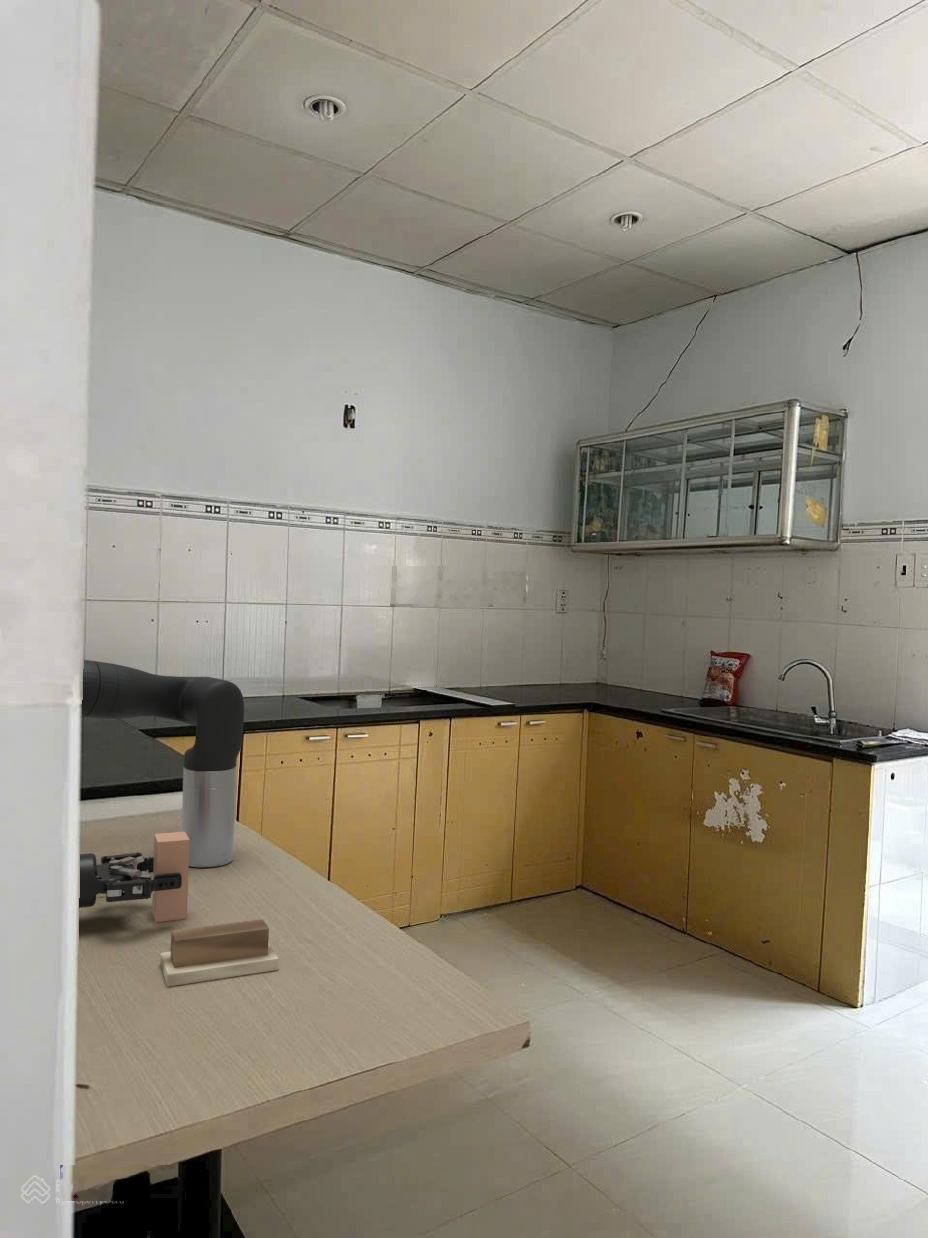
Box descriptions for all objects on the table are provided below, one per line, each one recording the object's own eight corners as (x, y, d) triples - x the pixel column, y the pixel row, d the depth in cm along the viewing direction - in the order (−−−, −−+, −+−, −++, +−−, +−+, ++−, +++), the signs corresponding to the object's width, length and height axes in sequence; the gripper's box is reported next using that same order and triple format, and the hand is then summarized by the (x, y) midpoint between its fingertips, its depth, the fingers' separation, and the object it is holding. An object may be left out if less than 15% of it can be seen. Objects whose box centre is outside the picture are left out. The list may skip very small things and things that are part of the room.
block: (151, 911, 135) (154, 834, 134) (182, 908, 137) (184, 831, 136) (155, 922, 131) (157, 842, 130) (186, 918, 133) (189, 839, 132)
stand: (160, 964, 117) (161, 926, 117) (265, 949, 123) (267, 913, 123) (167, 986, 110) (168, 947, 110) (278, 970, 117) (279, 932, 116)
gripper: (61, 872, 120) (185, 860, 127) (59, 843, 133) (171, 834, 140) (60, 926, 121) (183, 912, 128) (58, 892, 133) (170, 880, 140)
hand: (177, 871), depth 134 cm, fingers open, 8 cm apart
